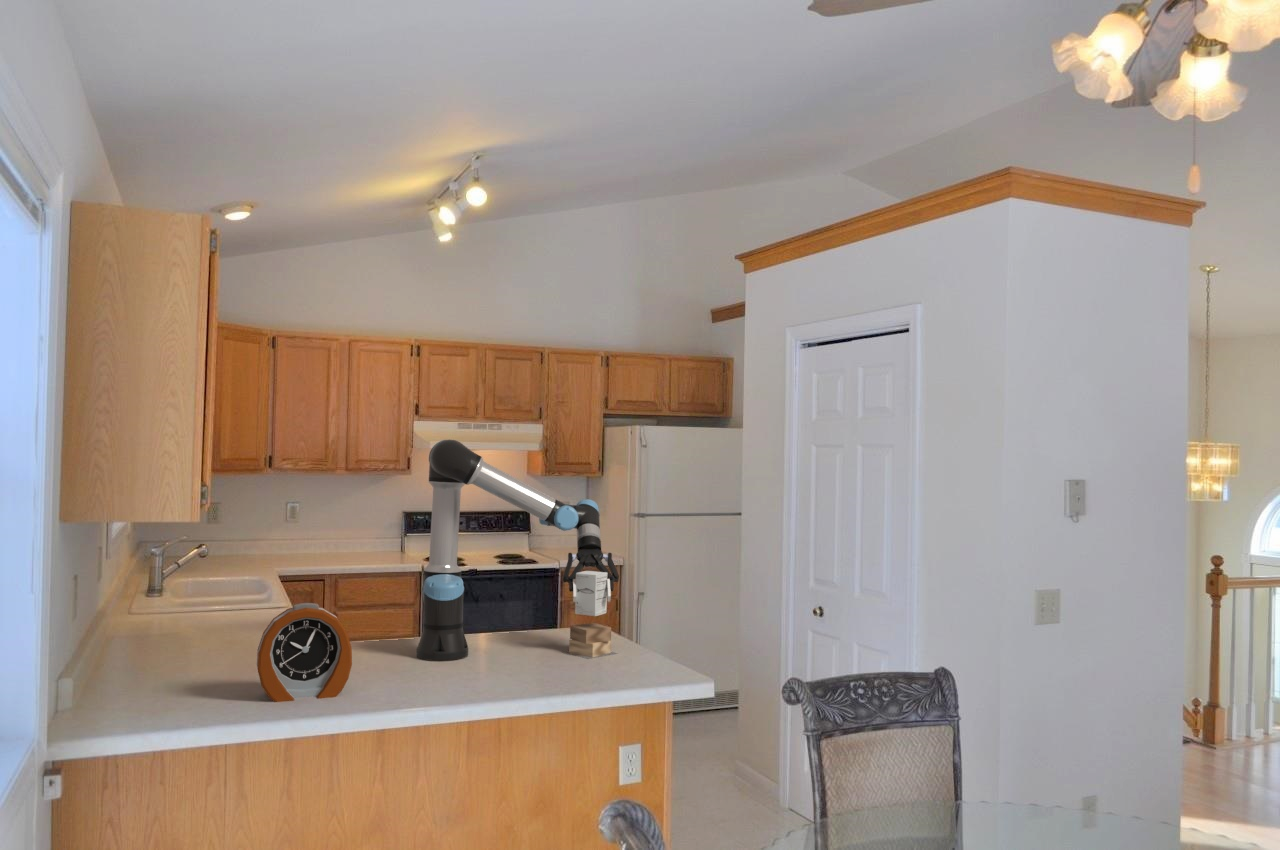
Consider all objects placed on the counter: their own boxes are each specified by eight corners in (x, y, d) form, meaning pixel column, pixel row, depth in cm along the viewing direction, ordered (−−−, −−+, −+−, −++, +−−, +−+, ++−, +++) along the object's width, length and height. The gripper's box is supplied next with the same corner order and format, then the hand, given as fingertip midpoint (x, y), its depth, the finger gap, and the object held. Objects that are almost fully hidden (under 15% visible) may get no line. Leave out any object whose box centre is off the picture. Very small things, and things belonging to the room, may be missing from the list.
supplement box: (574, 614, 293) (574, 572, 293) (586, 611, 299) (587, 570, 300) (595, 616, 289) (595, 574, 290) (607, 613, 296) (608, 571, 296)
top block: (586, 643, 288) (586, 630, 288) (570, 638, 295) (570, 625, 295) (611, 640, 293) (611, 627, 293) (594, 635, 300) (594, 622, 300)
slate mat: (588, 660, 285) (588, 658, 285) (562, 653, 294) (562, 652, 294) (618, 654, 294) (618, 653, 294) (592, 648, 302) (592, 647, 302)
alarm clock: (257, 703, 232) (259, 609, 233) (255, 694, 241) (258, 603, 242) (352, 695, 241) (354, 604, 242) (347, 686, 250) (349, 598, 251)
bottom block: (592, 657, 288) (592, 643, 288) (569, 653, 293) (569, 640, 293) (611, 652, 295) (611, 639, 295) (588, 648, 300) (588, 635, 300)
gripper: (623, 549, 311) (627, 606, 295) (553, 549, 309) (554, 606, 293) (625, 534, 306) (630, 591, 290) (554, 533, 303) (555, 591, 287)
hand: (592, 599), depth 291 cm, fingers closed on supplement box, 10 cm apart
